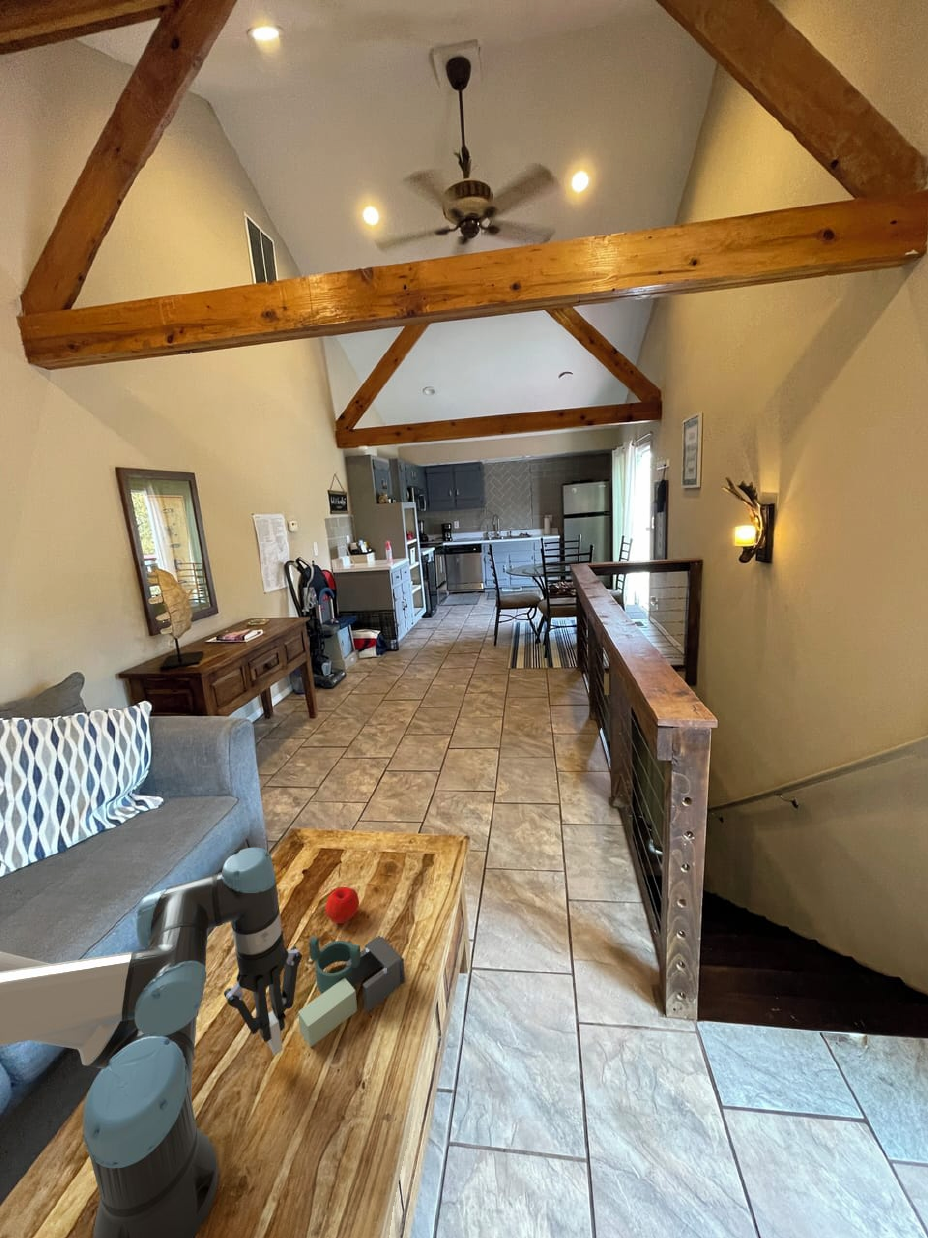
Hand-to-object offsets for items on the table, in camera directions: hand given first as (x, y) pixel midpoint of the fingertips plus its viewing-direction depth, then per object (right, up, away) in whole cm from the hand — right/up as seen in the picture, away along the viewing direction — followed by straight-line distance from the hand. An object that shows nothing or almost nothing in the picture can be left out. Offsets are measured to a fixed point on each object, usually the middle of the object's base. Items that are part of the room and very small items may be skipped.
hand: (275, 1047), depth 90 cm
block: (+8, -2, +8) cm, 11 cm away
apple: (+4, +4, +32) cm, 33 cm away
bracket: (+7, +1, +16) cm, 18 cm away
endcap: (+15, 0, +15) cm, 21 cm away
